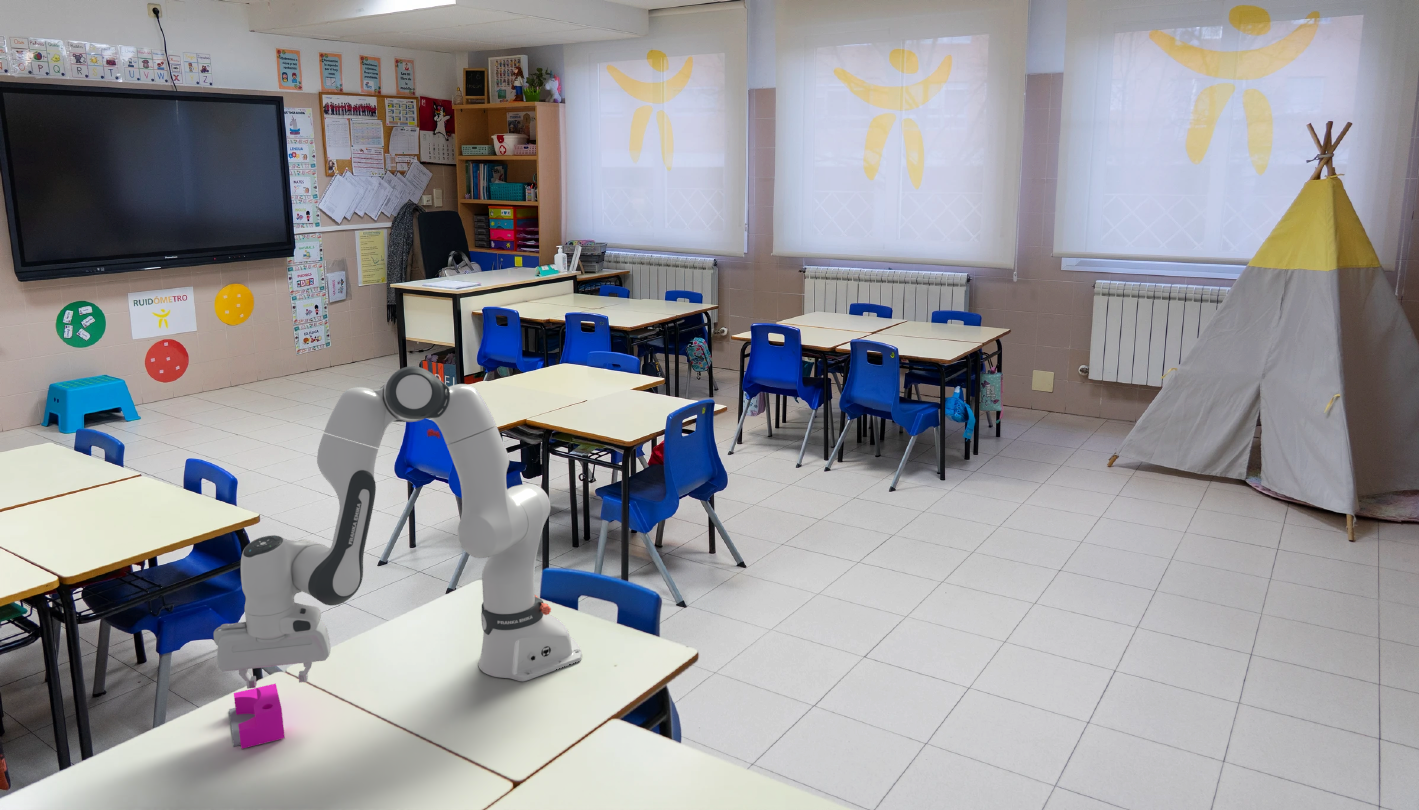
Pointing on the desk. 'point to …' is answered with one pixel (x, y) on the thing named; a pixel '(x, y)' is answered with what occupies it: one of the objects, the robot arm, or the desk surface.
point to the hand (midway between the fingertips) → (278, 683)
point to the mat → (234, 724)
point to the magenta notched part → (259, 715)
